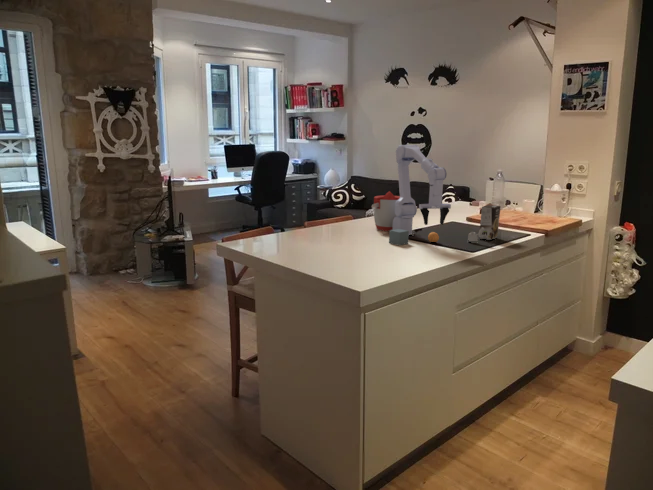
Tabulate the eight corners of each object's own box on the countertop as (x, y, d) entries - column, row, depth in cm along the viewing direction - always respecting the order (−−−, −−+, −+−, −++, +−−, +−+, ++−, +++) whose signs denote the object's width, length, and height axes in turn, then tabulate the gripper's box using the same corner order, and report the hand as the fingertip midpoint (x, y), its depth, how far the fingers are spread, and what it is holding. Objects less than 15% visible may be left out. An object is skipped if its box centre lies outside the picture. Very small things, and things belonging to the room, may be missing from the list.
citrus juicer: (364, 227, 272) (365, 190, 267) (392, 225, 279) (394, 189, 275) (379, 233, 258) (381, 193, 254) (408, 231, 265) (410, 192, 261)
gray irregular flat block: (467, 242, 241) (468, 226, 239) (469, 242, 242) (470, 225, 240) (482, 245, 236) (483, 228, 235) (483, 244, 238) (485, 227, 236)
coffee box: (491, 241, 244) (494, 208, 241) (478, 239, 248) (481, 206, 244) (498, 238, 251) (501, 205, 248) (485, 236, 255) (488, 204, 251)
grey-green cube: (388, 242, 237) (389, 230, 236) (397, 241, 241) (398, 228, 240) (399, 245, 232) (399, 232, 231) (408, 243, 236) (408, 230, 235)
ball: (425, 242, 239) (426, 232, 238) (432, 241, 242) (432, 230, 241) (434, 244, 236) (434, 233, 234) (440, 243, 239) (441, 232, 238)
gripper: (424, 195, 225) (422, 226, 228) (454, 195, 228) (452, 225, 231) (418, 193, 232) (416, 223, 235) (447, 193, 235) (445, 222, 238)
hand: (433, 224), depth 234 cm, fingers open, 7 cm apart
